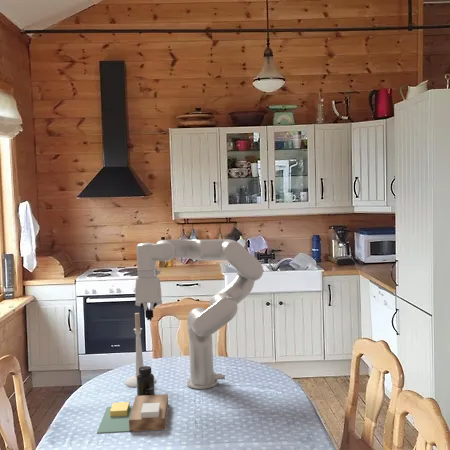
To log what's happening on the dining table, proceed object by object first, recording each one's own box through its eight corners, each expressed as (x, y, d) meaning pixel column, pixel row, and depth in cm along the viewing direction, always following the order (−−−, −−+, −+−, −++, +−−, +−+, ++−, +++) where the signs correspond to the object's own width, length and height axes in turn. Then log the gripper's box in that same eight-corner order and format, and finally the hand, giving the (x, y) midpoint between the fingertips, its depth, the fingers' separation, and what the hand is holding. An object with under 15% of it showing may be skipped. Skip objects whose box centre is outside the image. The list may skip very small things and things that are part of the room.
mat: (139, 406, 220) (139, 405, 220) (132, 431, 198) (132, 430, 198) (107, 407, 220) (106, 407, 220) (96, 433, 198) (96, 432, 198)
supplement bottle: (151, 401, 224) (150, 371, 223) (134, 400, 226) (133, 370, 225) (157, 394, 231) (155, 365, 230) (140, 394, 232) (139, 364, 231)
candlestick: (120, 381, 248) (116, 312, 245) (147, 375, 255) (144, 307, 252) (132, 390, 237) (129, 317, 235) (161, 383, 244) (157, 312, 242)
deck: (168, 404, 221) (167, 394, 220) (165, 429, 199) (164, 418, 199) (136, 406, 220) (135, 395, 220) (129, 431, 198) (128, 420, 198)
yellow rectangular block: (113, 402, 218) (113, 407, 219) (109, 411, 211) (110, 416, 211) (129, 401, 219) (129, 407, 219) (126, 410, 211) (127, 415, 211)
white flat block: (160, 408, 207) (160, 402, 207) (158, 417, 199) (158, 411, 199) (143, 408, 207) (143, 403, 207) (141, 418, 199) (140, 412, 199)
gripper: (166, 271, 236) (168, 316, 238) (129, 273, 236) (131, 318, 237) (165, 274, 229) (167, 320, 231) (127, 276, 228) (129, 322, 230)
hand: (149, 319), depth 234 cm, fingers closed
